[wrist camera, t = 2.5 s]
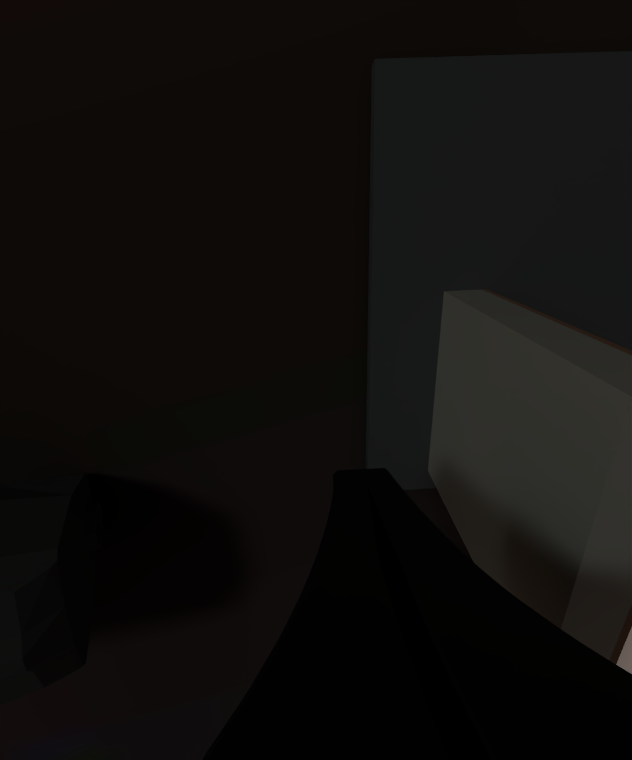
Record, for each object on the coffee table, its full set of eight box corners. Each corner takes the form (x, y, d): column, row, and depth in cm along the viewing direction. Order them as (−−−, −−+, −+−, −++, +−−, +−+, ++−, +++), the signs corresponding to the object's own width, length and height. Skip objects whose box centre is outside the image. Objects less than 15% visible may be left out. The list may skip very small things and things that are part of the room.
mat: (676, 465, 19) (687, 473, 19) (365, 483, 19) (367, 492, 18) (835, 51, 13) (860, 43, 12) (371, 65, 12) (375, 58, 12)
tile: (463, 468, 18) (605, 690, 10) (427, 470, 18) (540, 695, 10) (486, 289, 15) (727, 391, 7) (443, 291, 15) (632, 397, 6)
